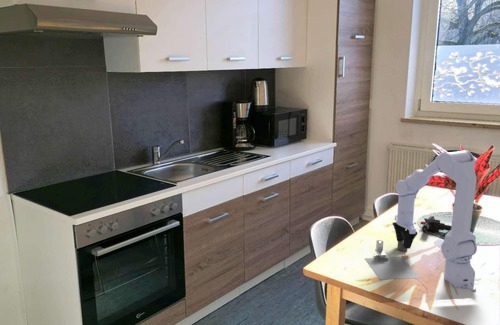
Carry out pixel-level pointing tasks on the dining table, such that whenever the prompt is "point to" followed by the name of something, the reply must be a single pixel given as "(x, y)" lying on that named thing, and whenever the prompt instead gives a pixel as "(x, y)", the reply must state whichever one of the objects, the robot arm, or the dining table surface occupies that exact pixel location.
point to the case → (391, 268)
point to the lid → (401, 246)
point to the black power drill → (434, 225)
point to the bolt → (380, 248)
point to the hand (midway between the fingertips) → (403, 244)
